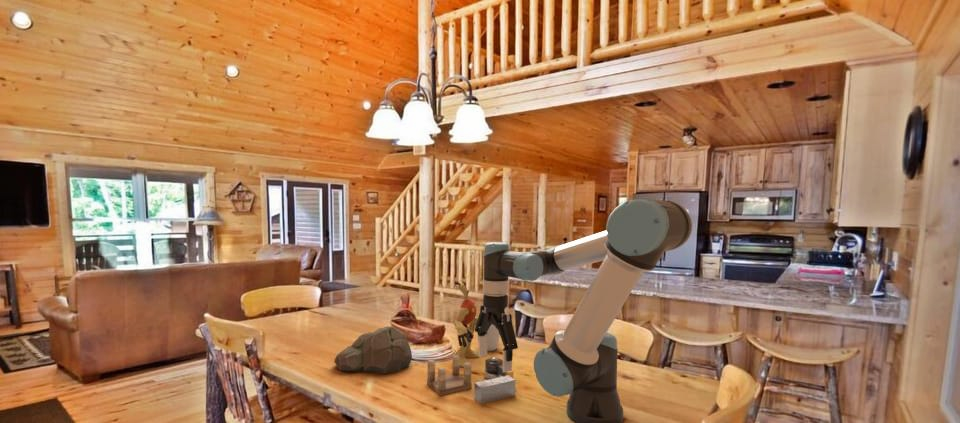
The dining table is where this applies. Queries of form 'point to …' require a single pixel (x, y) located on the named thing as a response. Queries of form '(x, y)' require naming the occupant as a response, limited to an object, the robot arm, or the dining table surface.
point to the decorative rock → (376, 352)
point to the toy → (465, 326)
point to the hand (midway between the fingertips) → (494, 363)
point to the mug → (492, 338)
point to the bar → (494, 389)
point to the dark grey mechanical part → (496, 367)
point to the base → (491, 375)
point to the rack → (449, 377)
